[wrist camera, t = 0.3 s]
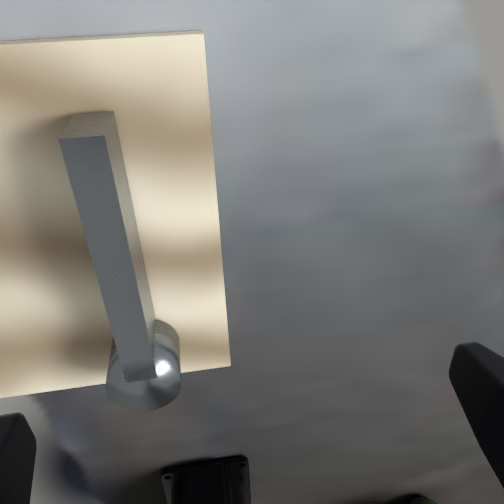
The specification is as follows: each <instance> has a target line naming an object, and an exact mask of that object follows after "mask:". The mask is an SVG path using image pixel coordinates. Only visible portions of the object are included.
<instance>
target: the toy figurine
mask: <svg viewBox="0 0 504 504" xmlns="http://www.w3.org/2000/svg"><path fill="white" fill-rule="evenodd" d="M409 504H437V503H436V502H434V501H432V500H430V499H428V498H427V497H415V498H414V499H412V500H411V501H410V502H409Z"/></svg>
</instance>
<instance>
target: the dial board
mask: <svg viewBox="0 0 504 504" xmlns="http://www.w3.org/2000/svg"><path fill="white" fill-rule="evenodd" d="M103 111H114V113H115V118H116V123H117V128H118V133H119V138H120V143H121V148H122V153H123V158H124V163H125V168H126V173H127V178H128V183H129V188H130V193H131V198H132V203H133V208H134V213H135V218H136V223H137V228H138V233H139V238H140V243H141V248H142V253H143V258H144V263H145V268H146V273H147V278H148V283H149V288H150V293H151V298H152V303H153V308H154V313H155V318H156V319H157V320H161V321H163V322H166V323H168V324H169V325H171V326H172V327H173V328H174V329H175V330H176V332H177V333H178V335H179V339H180V368H181V373H183V372H190V371H197V370H205V369H212V368H219V367H226V366H231V362H230V350H229V338H228V326H227V313H226V301H225V289H224V277H223V265H222V252H221V240H220V228H219V216H218V204H217V191H216V179H215V167H214V155H213V142H212V130H211V118H210V106H209V94H208V81H207V69H206V57H205V45H204V34H203V32H202V30H201V31H182V32H163V33H145V34H126V35H107V36H88V37H70V38H51V39H32V40H14V41H0V398H4V397H12V396H19V395H26V394H33V393H40V392H48V391H55V390H62V389H69V388H76V387H83V386H90V385H98V384H105V383H106V377H107V371H108V364H109V358H110V351H111V345H112V339H113V334H112V330H111V326H110V323H109V319H108V316H107V312H106V309H105V305H104V301H103V298H102V294H101V291H100V287H99V284H98V280H97V276H96V273H95V269H94V266H93V262H92V258H91V255H90V251H89V248H88V244H87V241H86V237H85V233H84V230H83V226H82V223H81V219H80V216H79V212H78V208H77V205H76V201H75V198H74V194H73V190H72V187H71V183H70V180H69V176H68V173H67V169H66V165H65V162H64V158H63V155H62V151H61V148H60V144H59V140H58V138H59V137H60V135H61V134H62V132H63V131H64V129H65V127H66V126H67V124H68V123H69V121H70V120H71V118H72V117H73V115H74V114H76V113H90V112H103Z"/></svg>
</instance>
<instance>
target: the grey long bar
mask: <svg viewBox="0 0 504 504" xmlns="http://www.w3.org/2000/svg"><path fill="white" fill-rule="evenodd" d="M58 140H59V144H60V148H61V151H62V155H63V158H64V162H65V165H66V169H67V173H68V176H69V180H70V183H71V187H72V190H73V194H74V198H75V201H76V205H77V208H78V212H79V216H80V219H81V223H82V226H83V230H84V233H85V237H86V241H87V244H88V248H89V251H90V255H91V258H92V262H93V266H94V269H95V273H96V276H97V280H98V284H99V287H100V291H101V294H102V298H103V301H104V305H105V309H106V312H107V316H108V319H109V323H110V326H111V330H112V334H113V339H112V345H111V351H110V358H109V364H108V371H107V377H106V384H105V390H106V394H107V396H108V397H109V399H110V400H111V401H112V402H113V403H115V404H116V405H118V406H120V407H122V408H125V409H128V410H133V411H149V410H155V409H158V408H161V407H163V406H165V405H167V404H169V403H170V402H172V401H173V400H174V399H175V398H176V397H177V395H178V394H179V392H180V389H181V368H180V339H179V335H178V333H177V332H176V330H175V329H174V328H173V327H172V326H171V325H169V324H168V323H166V322H163V321H161V320H157V319H156V318H155V313H154V308H153V303H152V298H151V293H150V288H149V283H148V278H147V273H146V268H145V263H144V258H143V253H142V248H141V243H140V238H139V233H138V228H137V223H136V218H135V213H134V208H133V203H132V198H131V193H130V188H129V183H128V178H127V173H126V168H125V163H124V158H123V153H122V148H121V143H120V138H119V133H118V128H117V123H116V118H115V113H114V111H103V112H90V113H76V114H74V115H73V117H72V118H71V120H70V121H69V123H68V124H67V126H66V127H65V129H64V131H63V132H62V134H61V135H60V137H59V138H58Z"/></svg>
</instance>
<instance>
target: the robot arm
mask: <svg viewBox="0 0 504 504" xmlns="http://www.w3.org/2000/svg"><path fill="white" fill-rule="evenodd" d="M449 378H450V381H451V383H452V386H453V388H454V390H455V392H456V395H457V397H458V399H459V401H460V404H461V406H462V408H463V410H464V412H465V415H466V417H467V419H468V421H469V424H470V426H471V428H472V430H473V432H474V435H475V437H476V439H477V441H478V443H479V445H480V447H481V449H482V451H483V453H484V455H485V456H486V458H487V460H488V462H489V463H490V465H491V467H492V469H493V470H494V472H495V474H496V476H497V477H498V479H499V481H500V483H501V484H502V486H503V488H504V357H502V356H500V355H498V354H497V353H495V352H493V351H492V350H490V349H488V348H486V347H485V346H483V345H481V344H479V343H477V342H470V343H464V344H459V345H457V346H456V348H455V350H454V354H453V357H452V361H451V364H450V368H449ZM35 456H36V439H35V436H34V434H33V432H32V430H31V428H30V426H29V425H28V422H27V420H26V419H25V417H24V415H23V414H21V413H12V414H5V415H1V416H0V504H30V495H31V488H32V480H33V472H34V464H35ZM161 481H162V484H163V488H164V492H165V496H166V500H167V503H168V504H251V495H250V479H249V463H248V458H247V457H244V456H241V457H235V458H229V459H223V460H216V461H210V462H204V463H198V464H192V465H186V466H180V467H174V468H168V469H164V470H162V472H161Z"/></svg>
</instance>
